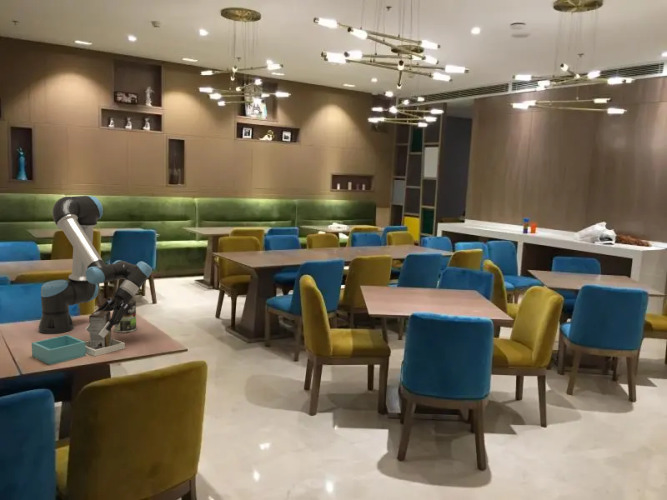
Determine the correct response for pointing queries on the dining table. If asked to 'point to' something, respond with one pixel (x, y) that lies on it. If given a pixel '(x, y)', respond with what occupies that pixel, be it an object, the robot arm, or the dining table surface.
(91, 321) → the coffee box
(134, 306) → the coffee can
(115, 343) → the collar
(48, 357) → the bin
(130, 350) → the dining table surface
